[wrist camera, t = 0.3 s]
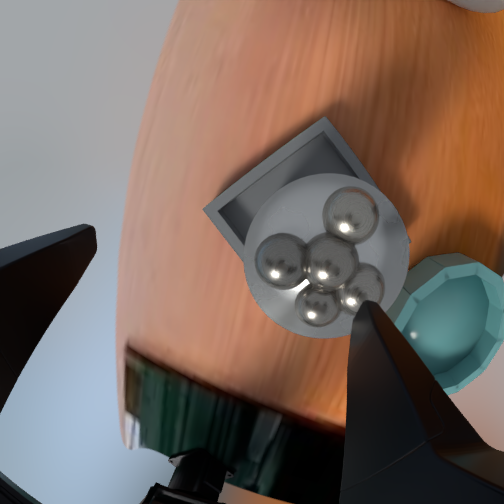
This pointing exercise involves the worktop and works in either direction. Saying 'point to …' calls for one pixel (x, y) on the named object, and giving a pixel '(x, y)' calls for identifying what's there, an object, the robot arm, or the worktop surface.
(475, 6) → the donut
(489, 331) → the bowl
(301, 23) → the worktop surface
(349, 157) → the parts tray
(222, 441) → the worktop surface
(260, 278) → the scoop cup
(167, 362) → the worktop surface
